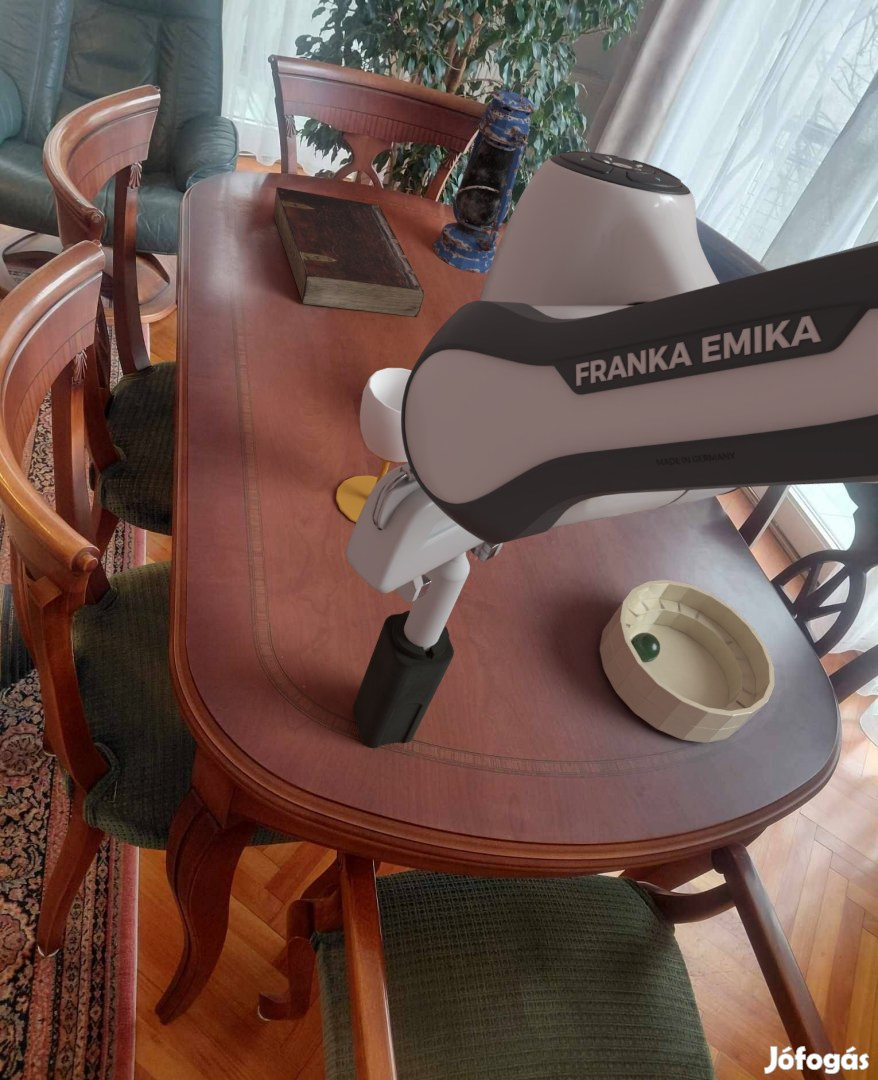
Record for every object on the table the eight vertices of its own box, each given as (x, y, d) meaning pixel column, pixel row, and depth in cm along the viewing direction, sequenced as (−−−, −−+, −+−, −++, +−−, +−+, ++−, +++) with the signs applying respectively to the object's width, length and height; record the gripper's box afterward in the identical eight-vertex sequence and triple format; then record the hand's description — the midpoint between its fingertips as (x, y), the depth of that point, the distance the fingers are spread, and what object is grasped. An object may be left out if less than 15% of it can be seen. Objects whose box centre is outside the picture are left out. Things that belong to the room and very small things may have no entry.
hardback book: (417, 317, 125) (426, 288, 122) (302, 305, 118) (307, 275, 114) (375, 230, 143) (381, 203, 140) (272, 215, 136) (276, 187, 132)
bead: (650, 672, 84) (664, 655, 82) (623, 661, 84) (636, 643, 82) (652, 651, 86) (666, 633, 84) (626, 639, 86) (639, 622, 84)
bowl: (744, 772, 79) (777, 742, 75) (586, 704, 79) (611, 671, 75) (742, 650, 92) (771, 618, 88) (607, 592, 92) (629, 558, 88)
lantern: (510, 278, 145) (574, 107, 125) (454, 276, 139) (511, 96, 119) (473, 236, 154) (527, 70, 133) (418, 233, 148) (466, 58, 127)
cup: (417, 532, 90) (458, 423, 79) (339, 528, 87) (371, 413, 76) (404, 479, 96) (440, 371, 85) (331, 473, 93) (359, 360, 82)
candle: (363, 750, 69) (443, 560, 52) (349, 700, 72) (420, 506, 55) (417, 741, 71) (510, 556, 54) (401, 693, 74) (484, 505, 57)
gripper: (426, 511, 40) (368, 666, 50) (636, 414, 53) (559, 551, 63) (350, 438, 43) (308, 599, 52) (569, 363, 56) (504, 502, 65)
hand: (447, 572), depth 57 cm, fingers open, 6 cm apart
